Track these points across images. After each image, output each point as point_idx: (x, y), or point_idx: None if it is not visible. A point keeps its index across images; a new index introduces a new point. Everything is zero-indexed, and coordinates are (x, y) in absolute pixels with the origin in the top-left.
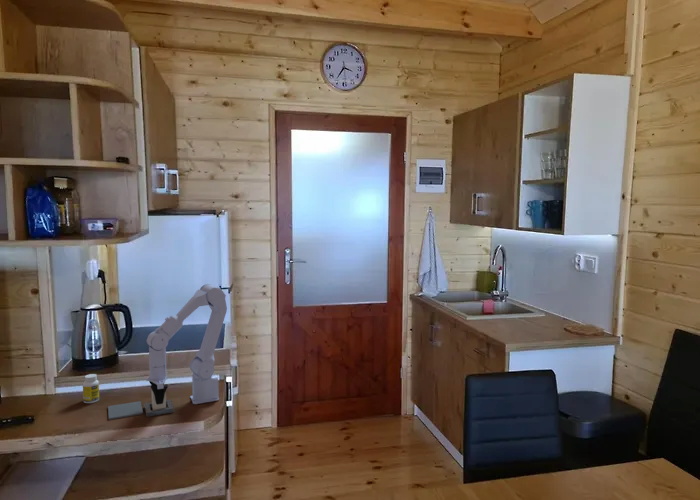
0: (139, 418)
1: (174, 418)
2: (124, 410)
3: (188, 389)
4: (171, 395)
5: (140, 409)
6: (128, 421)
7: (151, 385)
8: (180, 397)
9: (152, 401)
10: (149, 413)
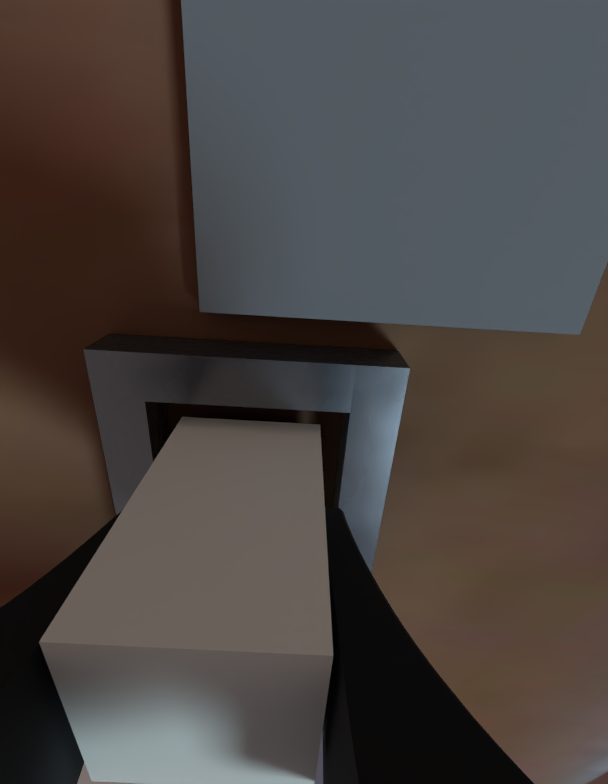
0: (94, 252)
1: (16, 531)
2: (388, 64)
3: (553, 683)
4: (527, 586)
5: (309, 297)
6: (31, 94)
7: (349, 729)
8: (434, 625)
9: (216, 476)
10: (97, 374)
